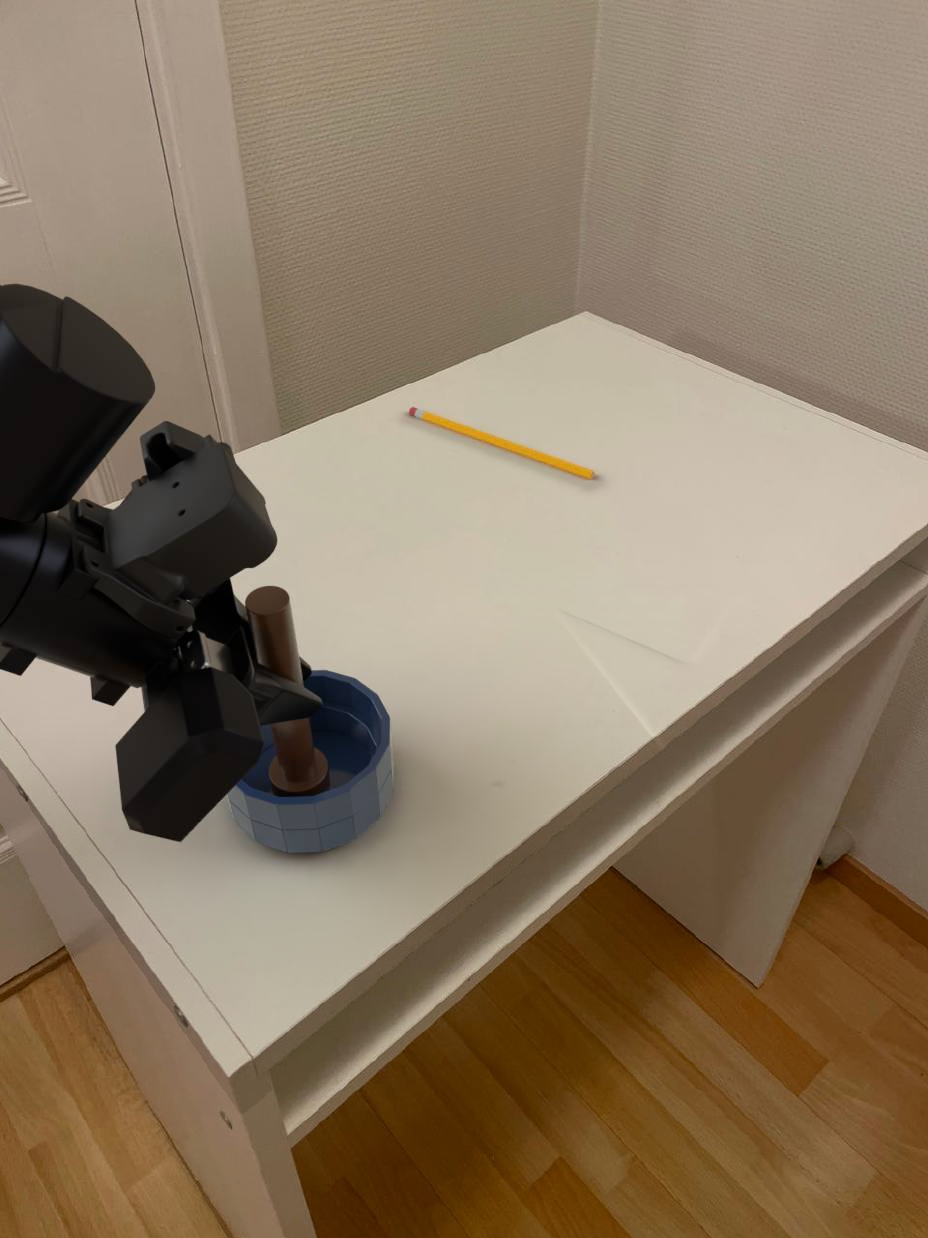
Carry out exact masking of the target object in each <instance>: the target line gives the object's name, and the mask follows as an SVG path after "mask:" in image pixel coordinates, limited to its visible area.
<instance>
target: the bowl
mask: <svg viewBox="0 0 928 1238" xmlns="http://www.w3.org/2000/svg"><path fill="white" fill-rule="evenodd" d="M304 688H306V689H307V690H309V691H311V692H312V693H314V694H315V695H317V696H318V697H320V698H321V700H322V704H323V705H322V707H321V708H320V709H319V710H318V711H317V712H316V713H315V714H314V715H313V716H312V717H309V720H310V726H311V732H312V738H313V744H314V748H317V749H318V750H320V751H321V752H322V753H323V754H324V755H325V757H326V759H327V761H328V767H329V774H330V788H329V790H328V791H326V792H323V793H320V794H317V795H315V796H302V797H278V796H275V795H274V794H273V791H272V786H271V782H270V777H269V766H270V764H271V762H272V760H273V758H274V757H275V756H276V750H275V746H274V741H273V736H272V731H271V726H270V724H268V725H262V726H260V728H261V732H262V736H263V740H264V744H263V747H262V750H261V754H260V757H259V760H258V763H257V764H256V765H255V766H254V767H253V768H252V769H251V770H250V771H249V772H248V773H247V774H246V775H245V776H244V777H243V778H242V779H241V780H240V781H239V782H238V783H237V784H236V785H235V786H234V787H233V788H232V790H231V791H230V792H229V793H228V794H227V795H226V796H225V797H226V801H227V803H228V806H229V809H230V812H231V815H232V818H233V821H234V822H235V824H236V825H237V826H238V827H239V828H240V829H241V830H242V831H244V832H245V833H246V834H247V835H248V836H249V837H250V839H252V840H253V841H255V842H256V843H258V844H260V845H263V846H266V847H268V848H272V849H274V850H278V851H281V852H284V853H288V854H293V853H294V854H296V853H299V854H300V853H320V852H321V853H322V852H326V851H328V850H331V849H334V848H337V847H339V846H341V845H345V844H347V843H349V842H352V841H355V840H357V838H359V837H360V836H361V835H362V834H363V833H364V832H366V831H367V830H368V829H369V828H370V827H372V826H373V825H374V824H375V823H376V822H378V820H380V818H381V817H382V815H383V813H384V811H385V809H386V808H387V805H388V803H389V801H390V800H391V798H392V795H394V794H393V793H394V785H395V784H394V783H395V781H394V775H395V774H394V773H395V772H394V771H395V766H394V765H395V764H394V752H393V751H394V750H393V737H392V723H391V717H390V714H389V713H388V711H387V709H386V707H385V705H384V703H383V702H382V700H381V697H380V696H379V694H378V693H377V692H375V691H374V690H372V689H371V688H370V687H368V686H367V685H366V684H364V683H363V682H362V681H360V680H359V679H357V678H355V677H353V676H349V675H346V674H343V673H339V672H336V671H331V670H328V669H315V670H314V669H312V674H311V675H310V676H309V677H308V679H307V680H306V681H305V682H304Z"/></svg>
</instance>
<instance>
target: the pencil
mask: <svg viewBox="0 0 928 1238" xmlns="http://www.w3.org/2000/svg"><path fill="white" fill-rule="evenodd" d="M408 414H409V416H411V417H414V418H417V419H419V420H422V421H425V422H427V423H431V424H433V425H436V426H439V427H442V428H445V429H447V430H450V431H453V432H456V433H459V434H461V435H464V436H467V437H470V438H473V439H476V440H478V441H482V442H484V443H487V444H489V445H492V446H495V447H497V448H501V449H504V450H505V451H509V452H511V453H514V454H517V455H520V456H523V457H526V458H528V459H531V460H534V461H537V462H540V463H543V464H545V465H548V466H551V467H552V468H553V467H554V468H556V469H559V470H562V471H564V472H567V473H570V474H573V475H576V476H579V477H582V478H584V479H587V480H590V481H591V480H592V479H594V476H595V470H592V469H590V468H587V467H584V466H581V465H579V464H576V463H572V462H570V461H567V460H564V459H561V458H558V457H556V456H553V455H550V454H548V453H544V452H542V451H539V450H536V449H533V448H530V447H528V446H525V445H522V444H519V443H516V442H513V441H510V440H507V439H505V438H503V437H499V436H496V435H494V434H490V433H488V432H485V431H483V430H479V429H476V428H474V427H471V426H468V425H465V424H463V423H460V422H456V421H454V420H451V419H449V418H445V417H443V416H441V415H436V414H434V413H432V412H428V411H425V410H423V409H421V408H416V407H415V406H412V407H410V408H409V410H408Z"/></svg>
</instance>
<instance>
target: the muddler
mask: <svg viewBox="0 0 928 1238" xmlns="http://www.w3.org/2000/svg"><path fill="white" fill-rule="evenodd" d="M290 597H291V596H290V595H289V593H288V592H287V591H286V590H285V589H284V588H283V587H281V586H278V585H277V586H276V585H264V586H259V587H257V588H255V589H253V590H252V591H250V592H249V593H248V594H247V596H246V598H245V600H244V605H245V606H246V611H247V616H248V621H249V626H250V630H251V635H252V640H253V645H254V650H255V654H256V659H257V662H258V663H260V664H262V665H263V666H265V667H267V668H269V669H271V670H273V671H275V672H277V673H278V674H280V675H282V676H284V677H286V678H288V679H290V680H292V681H293V682H295V683H297V684H299V685H301V686H303V687H304V683H303V677H302V671H301V665H300V659H299V656H300V653H299V648H298V641H297V634H296V629H295V622H294V617H293V610H292V604H291V598H290ZM270 726H271V731H272V736H273V741H274V746H275V750H276V756H275V757H274V758H273V760H272V762H271V764H270V766H269V777H270V782H271V786H272V791H273V794H274V795H275V796H278V797H302V796H315V795H317V794H320V793H323V792H326V791H328V790H329V788H330V774H329V767H328V761H327V759H326V757H325V755H324V754H323V753H322V752H321V751H320V750H318V749H317V748H314V744H313V738H312V732H311V726H310V720H309V718H304V719H298V720H292V721H286V722H280V723H274V724H270Z"/></svg>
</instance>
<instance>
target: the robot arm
mask: <svg viewBox="0 0 928 1238" xmlns="http://www.w3.org/2000/svg"><path fill="white" fill-rule="evenodd" d="M155 392H156V382H155V380H154V378H153V375H152V372H151V370H150V368H149V367H148V366H147V363H146V362H145V361H144V358H142V356H141V355H140V354H139V353H138V352H137V350H136V349H135V348H134V347H133V346H132V345H131V344H130V343H129V341H127V339H125V337H124V336H123V335H121V334H120V332H118V331H117V330H116V329H115V328H114V327H112V326H111V324H109V323H108V322H107V321H106V320H105V319H103V318H102V317H100V316H99V315H98V314H96V313H95V312H93V311H92V310H90V309H89V308H88V307H87V306H85V305H84V304H81V303H80V302H79V301H77V300H76V299H73V298H72V297H70V296H67V295H65V296H64V297H63V298H60V297H58V296H57V295H55V294H52V293H51V292H49V291H46V290H43V289H40V288H37V287H35V286H31V285H26V284H20V283H8V284H3V285H2V284H0V670H1V671H3V672H7V673H10V674H13V675H16V676H19V677H21V676H23V674H24V673H25V672H26V670H27V669H28V668H29V667H30V665H31V664H32V663H33V662H34V660H35V659H38V660H41V661H44V662H47V663H48V664H49V663H50V664H53V665H55V666H58V667H61V668H64V669H67V670H70V671H73V672H75V673H78V674H81V675H84V676H87V677H89V680H90V681H89V682H90V691H91V700H93V701H95V702H98V703H101V704H105V705H108V706H110V707H115V705H116V704H117V703H118V702H119V701H120V699H122V697H123V696H124V695H125V694H126V693H127V692H128V691H129V689H130V688H131V687H132V688H134V689H140V688H141V689H140V690H141V697H142V702H143V703H142V704H143V711H144V712H143V713H142V714H141V715H140V717H139V718H138V719H137V720H136V721H135V722H134V723H133V724H132V726H131V727H130V728H129V729H128V730H127V731H126V733H125V734H123V736H122V737H121V738H120V739H119V741H117V743H115V747H114V748H115V753H116V754H115V755H116V765H117V775H118V786H119V794H120V795H119V796H120V804H121V805H120V806H121V811H122V813H123V816H124V818H125V821H126V824H127V826H128V828H129V831H133V832H137V833H139V834H140V833H141V834H144V835H149V836H152V837H156V838H161V839H165V840H168V841H174V842H178V843H182V842H183V840H185V839H186V837H188V835H189V834H190V833H191V832H192V831H193V830H194V829H195V828H196V827H197V826H198V825H199V824H200V823H201V822H202V821H203V820H204V819H205V818H206V817H207V816H208V814H209V813H211V812H212V811H213V810H214V809H215V807H216V806H217V805H218V804H220V802H222V800H223V799H224V798H225V797H226V795H227V794H228V793H229V792H230V791H231V790H232V788H233V787H234V786H235V785H236V784H237V783H238V782H239V781H240V780H241V779H242V778H243V777H244V776H245V775H246V774H247V773H248V772H249V771H250V770H251V769H252V768H253V767H254V766H255V765H256V764H257V763H258V760H259V757H260V754H261V750H262V747H263V744H264V740H263V736H262V732H261V728H260V726H262V725H268V724H274V723H280V722H286V721H292V720H298V719H304V718H309V717H312V716H313V715H314V714H315V713H316V712H317V711H318V710H319V709H320V708H321V707H322V705H323V704H322V700H321V698H320V697H318V696H317V695H315V694H314V693H312V692H311V691H309V690H307V689H306V688H304V687H303V686H301V685H299V684H297V683H295V682H293V681H292V680H290V679H288V678H286V677H284V676H282V675H280V674H278V673H277V672H275V671H273V670H271V669H269V668H267V667H265V666H263V665H262V664H260V663H258V662H257V659H256V654H255V650H254V645H253V640H252V635H251V630H250V626H249V621H248V616H247V611H246V606H245V603H243V602H242V601H241V600H240V599H238V597H237V596H236V594H235V593H234V589H233V584H232V580H231V578H233V577H234V576H235V575H237V574H239V573H240V572H242V571H244V570H245V569H255V568H256V567H258V566H260V565H261V564H263V563H264V562H265V561H268V559H269V558H270V557H271V556H272V554H274V552H275V550H276V548H277V545H278V535H277V531H276V530H275V527H274V526H273V524H272V522H271V518H270V515H269V512H268V509H267V506H266V504H267V502H266V499H265V497H264V495H263V494H262V492H260V490H259V489H258V488H257V486H256V485H255V484H254V483H253V482H252V481H251V479H250V478H249V477H248V476H247V475H246V473H245V472H244V471H243V470H242V469H241V467H240V466H239V465H238V464H237V461H236V458H235V455H234V452H233V449H232V447H231V445H230V444H228V443H227V442H223V441H220V442H218V441H216V439H214V437H213V436H212V434H210V433H209V434H207V435H205V436H202V435H200V434H199V433H196V432H194V431H192V430H190V429H187V428H185V427H183V426H180V425H179V424H176V423H173V422H171V421H169V420H163V422H162V421H161V423H159V424H157V425H156V426H154V427H152V428H151V429H149V430H148V431H146V432H145V433H143V434H141V435H140V437H139V444H140V448H141V453H142V459H143V465H144V468H145V472H146V474H145V475H141V477H140V478H137V479H135V480H133V481H132V482H131V483H130V486H131V489H130V491H129V492H128V493H127V495H126V496H125V497H124V499H123V500H122V501H121V503H120V504H119V505H117V506H116V507H115V508H110V507H106V506H102V505H100V504H98V503H96V502H94V501H92V500H90V499H88V498H80V499H79V501H78V500H75V499H74V496H76V495H77V493H78V491H79V490H80V489H81V488H82V487H83V486H84V484H85V483H86V481H87V480H88V479H89V478H90V477H91V476H92V474H93V473H94V471H95V470H96V469H97V468H98V466H99V465H100V464H101V463H102V461H104V459H105V458H106V457H107V455H108V454H109V452H110V451H111V450H112V449H113V448H114V447H115V445H116V444H117V442H118V441H119V440H120V439H121V438H122V436H123V435H125V433H126V432H127V430H128V429H129V428H130V427H131V425H132V424H133V422H134V421H135V420H136V419H137V417H138V416H140V414H141V412H142V411H143V410H144V409H145V407H146V406H147V405H148V404H149V402H150V401H151V400H152V399H153V397H154V394H155ZM56 512H57V513H56ZM299 659H300V665H301V671H302V677H303V683H304V682H305V681H306V680H307V679H308V677H309V676H310V675H311V674H312V670H313V669H312V667H311V665H310V664H309V663H308V662H307V661H306V660H305V659H303V658H302V657H301V656H300V655H299Z"/></svg>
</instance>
